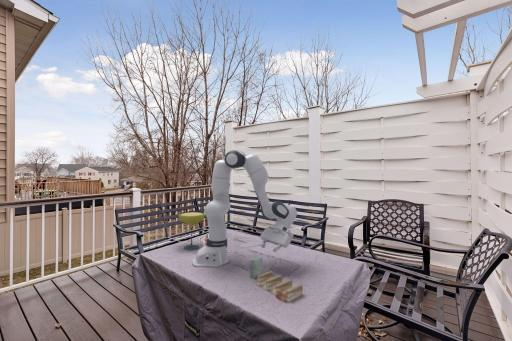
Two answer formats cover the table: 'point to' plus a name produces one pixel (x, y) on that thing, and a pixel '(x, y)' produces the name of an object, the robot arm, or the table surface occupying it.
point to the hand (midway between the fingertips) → (268, 249)
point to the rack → (279, 286)
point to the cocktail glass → (191, 223)
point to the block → (255, 267)
